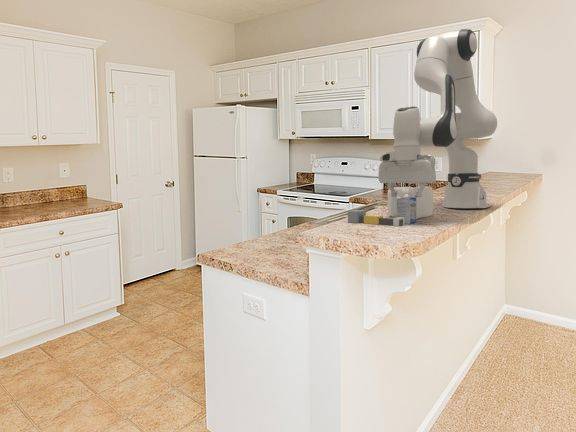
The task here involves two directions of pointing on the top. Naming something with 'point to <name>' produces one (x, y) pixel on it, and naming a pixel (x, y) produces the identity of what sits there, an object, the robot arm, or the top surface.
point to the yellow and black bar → (382, 220)
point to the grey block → (355, 216)
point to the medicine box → (407, 209)
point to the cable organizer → (422, 203)
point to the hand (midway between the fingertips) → (405, 196)
